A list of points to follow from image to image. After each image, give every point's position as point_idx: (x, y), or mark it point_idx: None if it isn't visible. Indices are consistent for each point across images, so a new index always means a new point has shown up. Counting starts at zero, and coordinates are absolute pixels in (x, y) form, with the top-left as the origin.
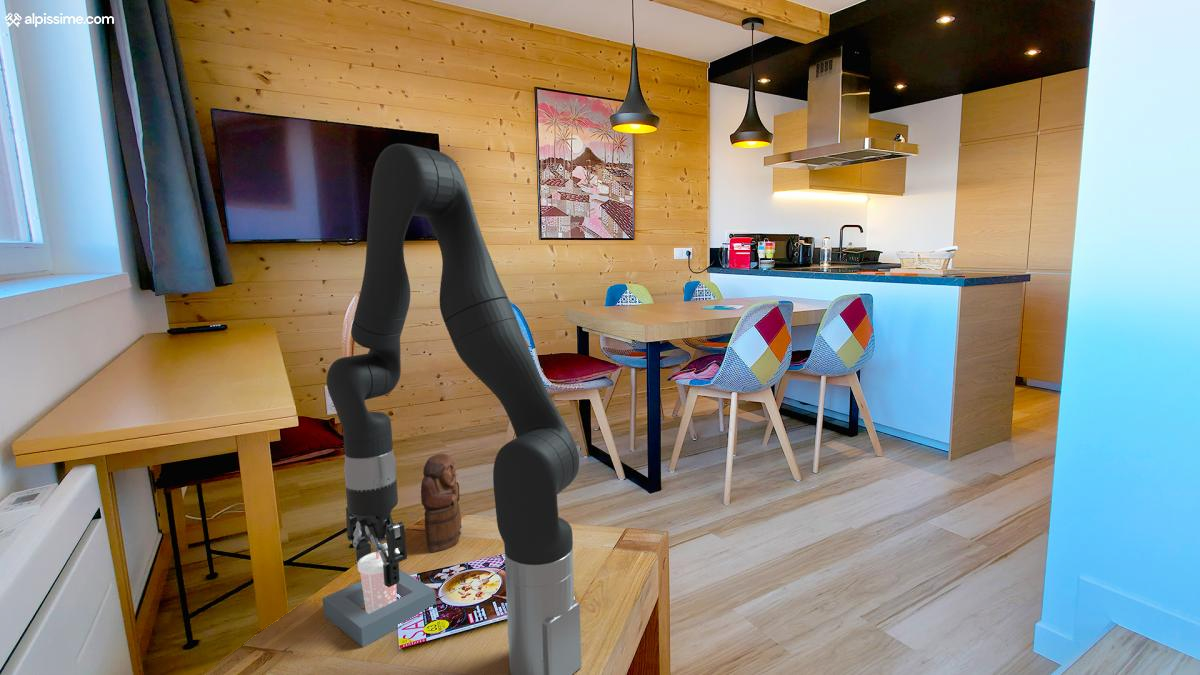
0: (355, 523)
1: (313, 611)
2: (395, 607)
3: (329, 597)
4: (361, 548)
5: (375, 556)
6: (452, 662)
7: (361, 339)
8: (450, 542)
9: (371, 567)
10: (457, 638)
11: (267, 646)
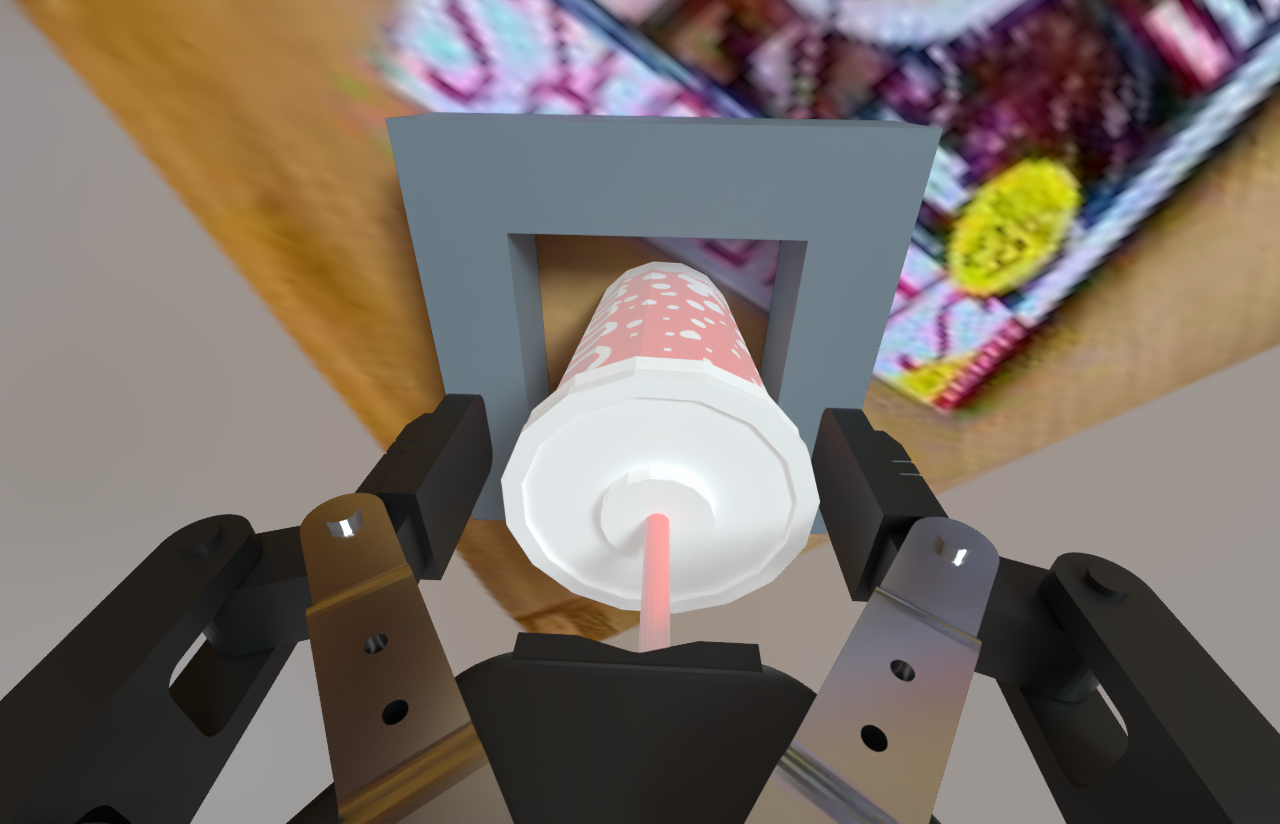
0: (176, 767)
1: None
2: (841, 388)
3: (489, 502)
4: (436, 556)
5: (610, 515)
6: (1243, 346)
7: None
8: None
9: (711, 571)
10: (1188, 228)
11: (540, 604)
